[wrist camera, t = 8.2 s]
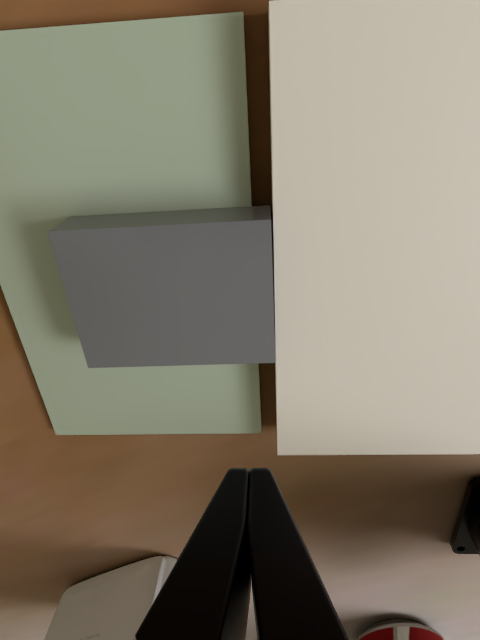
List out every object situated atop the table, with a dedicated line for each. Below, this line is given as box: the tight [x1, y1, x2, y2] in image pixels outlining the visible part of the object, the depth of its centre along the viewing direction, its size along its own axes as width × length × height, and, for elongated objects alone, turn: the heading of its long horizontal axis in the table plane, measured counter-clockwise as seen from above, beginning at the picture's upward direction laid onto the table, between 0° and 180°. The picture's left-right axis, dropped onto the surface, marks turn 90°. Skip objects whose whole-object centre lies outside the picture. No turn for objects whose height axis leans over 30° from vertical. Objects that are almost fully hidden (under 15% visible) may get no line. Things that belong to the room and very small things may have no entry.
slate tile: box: [47, 205, 275, 368], centre depth 17 cm, size 6×8×2 cm
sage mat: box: [0, 12, 261, 435], centre depth 18 cm, size 18×11×1 cm, turn 3°
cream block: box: [268, 0, 480, 455], centre depth 17 cm, size 18×12×2 cm, turn 3°
